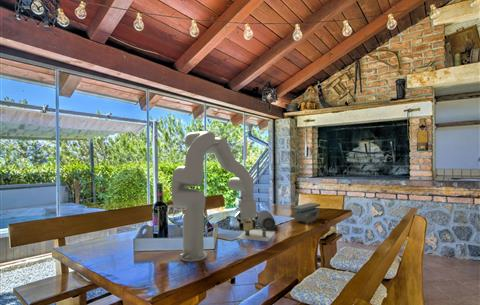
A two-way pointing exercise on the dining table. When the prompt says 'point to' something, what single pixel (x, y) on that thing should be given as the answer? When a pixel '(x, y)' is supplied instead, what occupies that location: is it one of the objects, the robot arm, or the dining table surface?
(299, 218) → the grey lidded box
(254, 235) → the cream base plate
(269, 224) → the bluetooth speaker
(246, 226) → the brass ring
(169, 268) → the dining table surface
